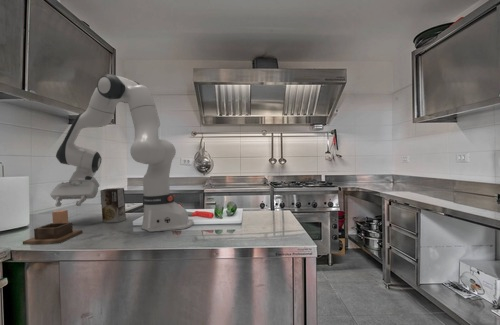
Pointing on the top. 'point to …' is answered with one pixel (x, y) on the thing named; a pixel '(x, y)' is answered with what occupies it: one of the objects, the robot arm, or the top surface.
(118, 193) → the coffee box
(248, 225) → the top surface
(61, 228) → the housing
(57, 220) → the block
